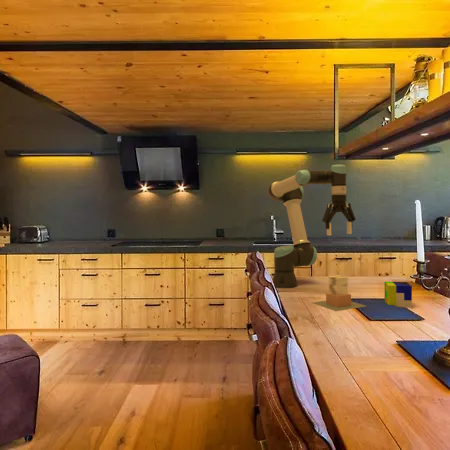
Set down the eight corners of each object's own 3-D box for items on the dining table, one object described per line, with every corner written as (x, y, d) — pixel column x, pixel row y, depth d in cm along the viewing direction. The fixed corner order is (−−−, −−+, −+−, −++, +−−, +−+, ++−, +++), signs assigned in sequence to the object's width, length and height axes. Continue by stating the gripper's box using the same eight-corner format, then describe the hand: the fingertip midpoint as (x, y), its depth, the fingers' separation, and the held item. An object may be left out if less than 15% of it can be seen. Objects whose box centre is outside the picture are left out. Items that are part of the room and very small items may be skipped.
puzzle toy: (411, 307, 186) (411, 286, 186) (388, 307, 188) (388, 285, 188) (406, 302, 196) (406, 281, 195) (384, 302, 198) (384, 281, 197)
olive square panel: (311, 304, 195) (311, 302, 195) (340, 300, 203) (340, 298, 203) (336, 313, 179) (336, 311, 179) (367, 308, 187) (367, 306, 187)
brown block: (328, 293, 192) (328, 276, 192) (338, 291, 195) (338, 275, 194) (337, 295, 187) (337, 278, 187) (347, 294, 189) (347, 277, 189)
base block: (326, 303, 193) (325, 293, 193) (339, 301, 196) (339, 291, 196) (337, 307, 186) (337, 296, 185) (351, 305, 189) (350, 294, 189)
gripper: (324, 194, 206) (324, 236, 207) (362, 193, 216) (362, 233, 217) (315, 194, 212) (315, 235, 213) (352, 194, 223) (352, 233, 224)
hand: (339, 234), depth 215 cm, fingers open, 13 cm apart
